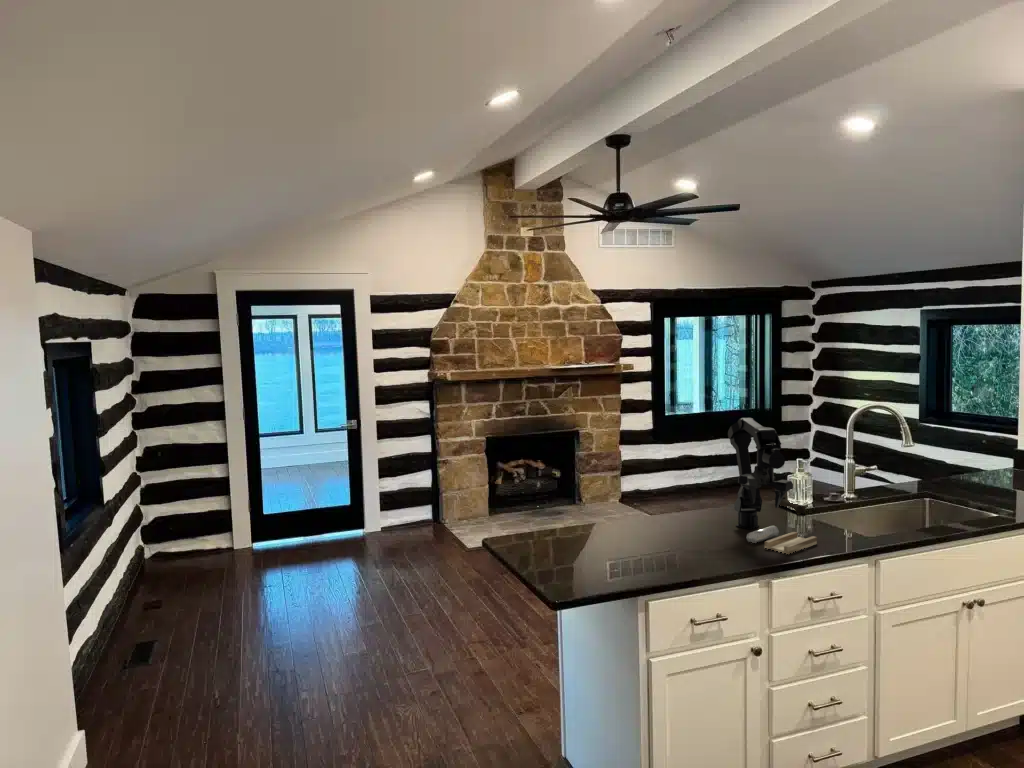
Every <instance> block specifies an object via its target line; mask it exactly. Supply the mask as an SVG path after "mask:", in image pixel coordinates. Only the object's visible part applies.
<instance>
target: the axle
mask: <svg viewBox="0 0 1024 768" xmlns="http://www.w3.org/2000/svg"><path fill="white" fill-rule="evenodd" d="M779 533H780V531H779V528H778V527H777V526H775V525H770V526H767V527H764V528H760V529H756V530H754V531H751V532H748V533H747V534H746V541H747V543H749V542H752V543H755V544H758V543H759V542H763V541H765V540H766V541H767V540H770V539H773V538H776V537H778V535H779ZM757 542H758V543H757ZM752 543H751V544H752Z"/></svg>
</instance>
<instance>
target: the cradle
mask: <svg viewBox="0 0 1024 768" xmlns="http://www.w3.org/2000/svg"><path fill="white" fill-rule="evenodd" d="M817 540H818V537H817V536H814V535H812V536H809V537H807V538H805V537H801V536H798V532H796V531H791V532H789V533H786V534H783V535H779V536H776V537H773V538H770V539H767V540H766V541H765V540H764V549H765V548H767V549H766V550H768V549H771V550H770V551H772V550H774V551H773V552H776V551H778V552H777V553H780V552H782V553H781V554H784V553H786V554H785V555H787V554H788V555H790V553H791V554H794V553H796V552H799V551H801V549H802V550H804V548H805V549H807V548H810V547H813V546H815V545H818V543H817V542H818V541H817ZM795 551H796V552H795ZM793 552H794V553H793Z"/></svg>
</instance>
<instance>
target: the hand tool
mask: <svg viewBox="0 0 1024 768" xmlns="http://www.w3.org/2000/svg"><path fill="white" fill-rule="evenodd" d="M789 501H790V500H788V499H787V498H786V497H785V496H783V498H782V500H781V502H780V504H779V505H781V506H784V507H783V508H785V507H787V506H790V507H792V508H794V509H795V510H796V512H795V513H796V514H797V513H804V514H805V511H806V507H805V505H803V504H799V505H798V503H797V504H793V503H794V502H793V503H790V502H789Z"/></svg>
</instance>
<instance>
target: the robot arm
mask: <svg viewBox="0 0 1024 768" xmlns="http://www.w3.org/2000/svg"><path fill="white" fill-rule="evenodd" d="M727 437H728V439H729V442H730V445H731V446H732V448H733V449H734V450H735V454H736V461H737V467H738V474H739V477H738V478H737V479H738V480H737V484H739V485H740V488H739V490H738V492H737V498H736V500H735V502H734V510H735V512H737V514H738V515H737V518H738V519H737V520H738V521H737V523H738V524H735V527H737V528H741V527H742V528H741V529H745V528H747V529H746V530H753V529H756V528H759V527H760V524H759V516H758V512H759V513H760V512H761V511H762V507H763V506H762V505H763V500H762V497H761V492H760V488H761V487H763V485H764V486H769V487H770V486H771V487H774V488H775V489H774V490H773V492H774V494H775V497H774V505H775V509H778V508H779V504H780V502H781V500H782V498H783V497H785V495H786V494H787V492H789V491H791V490H793V489H794V483H793V481H792V480H787V479H780V480H776V476H774V475H775V473H774V471H775V470H774V469H776V470H777V469H778V470H779V469H781V468H782V467H784V465H785V462H786V458H785V456H784V455H783V454H782V453H781V452H780V450H781V449H782V442H781V440H780V437H779V435H778V432H777V431H776V429H775V428H773V427H769V426H767V427H766V426H763V425H761V424H760V423H758V422H757V421H756V420H755V419H754V418H752V417H741V418H739V419H738V420H737V421H736V422H734V423H733V424H732V425H730V427H729V429H728V431H727ZM752 438H753V439H752ZM752 440H753V441H754V443H755V449H756V465H755V466H754V470H753V471H752V465H751V457H750V451H749V447H750V444H751V443H752ZM758 526H759V527H758ZM755 527H756V528H755ZM752 528H753V529H752Z"/></svg>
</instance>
